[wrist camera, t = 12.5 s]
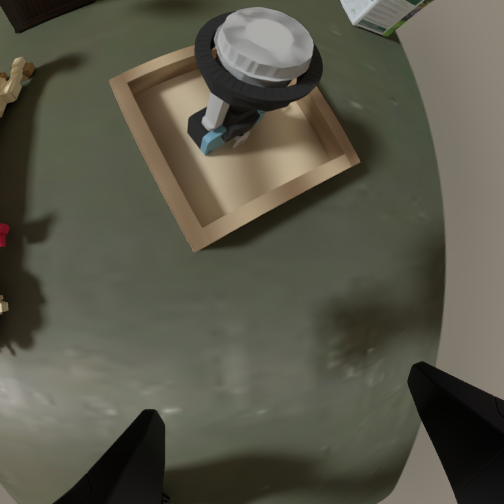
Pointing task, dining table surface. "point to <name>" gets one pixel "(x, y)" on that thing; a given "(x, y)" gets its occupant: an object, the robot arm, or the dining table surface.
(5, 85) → the cat figure
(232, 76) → the push button
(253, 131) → the oak tray
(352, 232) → the dining table surface
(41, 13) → the manual coffee grinder
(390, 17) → the syrup box
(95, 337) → the dining table surface
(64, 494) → the robot arm
